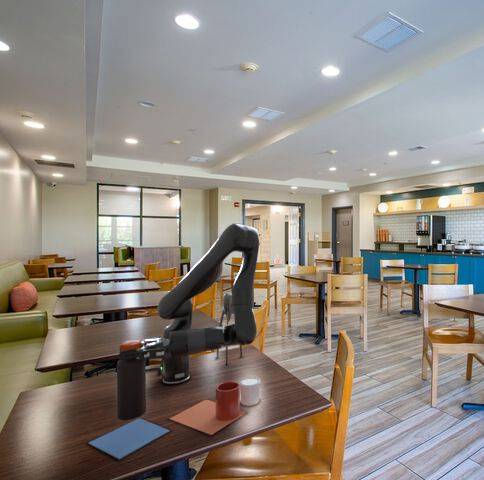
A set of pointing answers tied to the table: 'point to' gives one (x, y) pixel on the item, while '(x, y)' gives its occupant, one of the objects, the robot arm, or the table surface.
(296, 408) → the table surface
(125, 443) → the blue mat
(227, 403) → the red cup
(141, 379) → the bottle
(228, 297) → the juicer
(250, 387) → the grey and white cylinder
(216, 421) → the terracotta mat
